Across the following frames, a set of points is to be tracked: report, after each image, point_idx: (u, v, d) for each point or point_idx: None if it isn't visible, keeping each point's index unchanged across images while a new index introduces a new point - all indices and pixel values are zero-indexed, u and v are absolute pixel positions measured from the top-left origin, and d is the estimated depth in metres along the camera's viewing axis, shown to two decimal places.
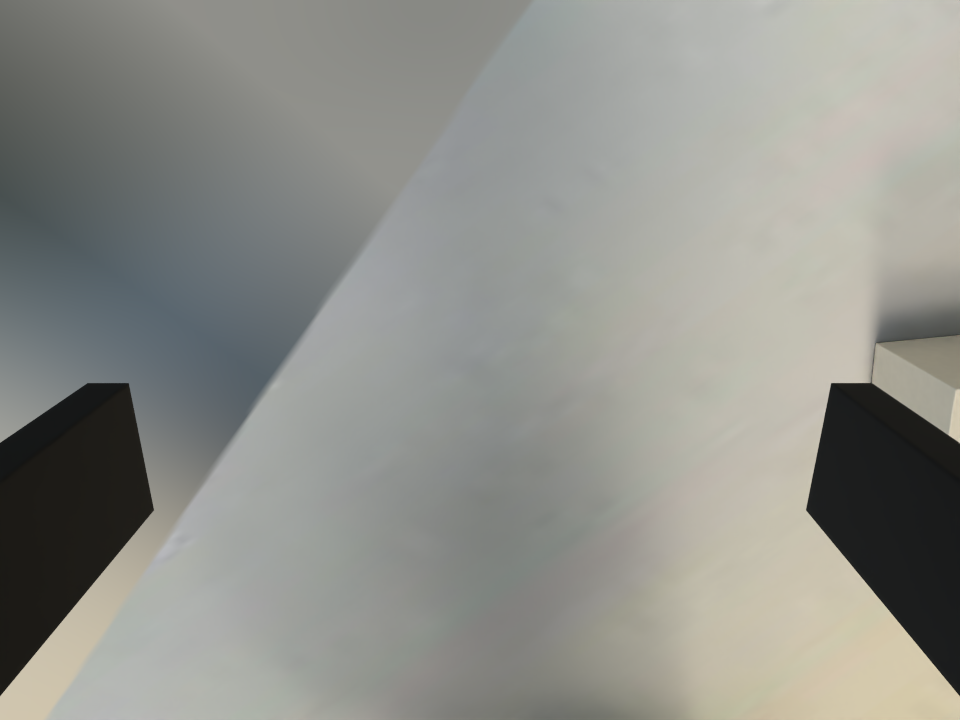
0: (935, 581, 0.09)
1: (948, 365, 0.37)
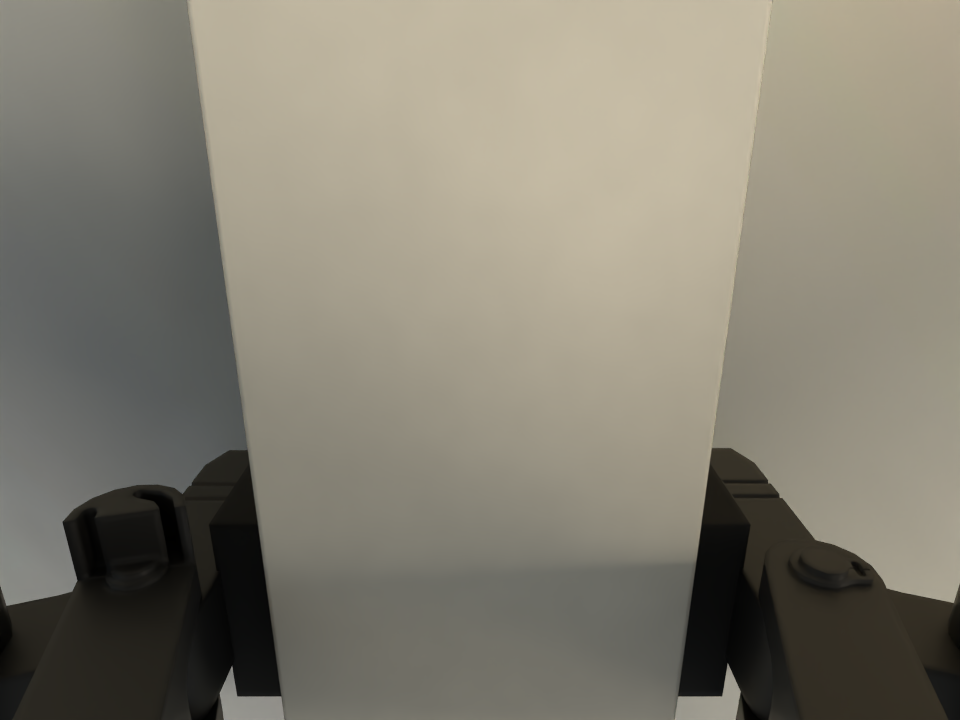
0: None
1: None
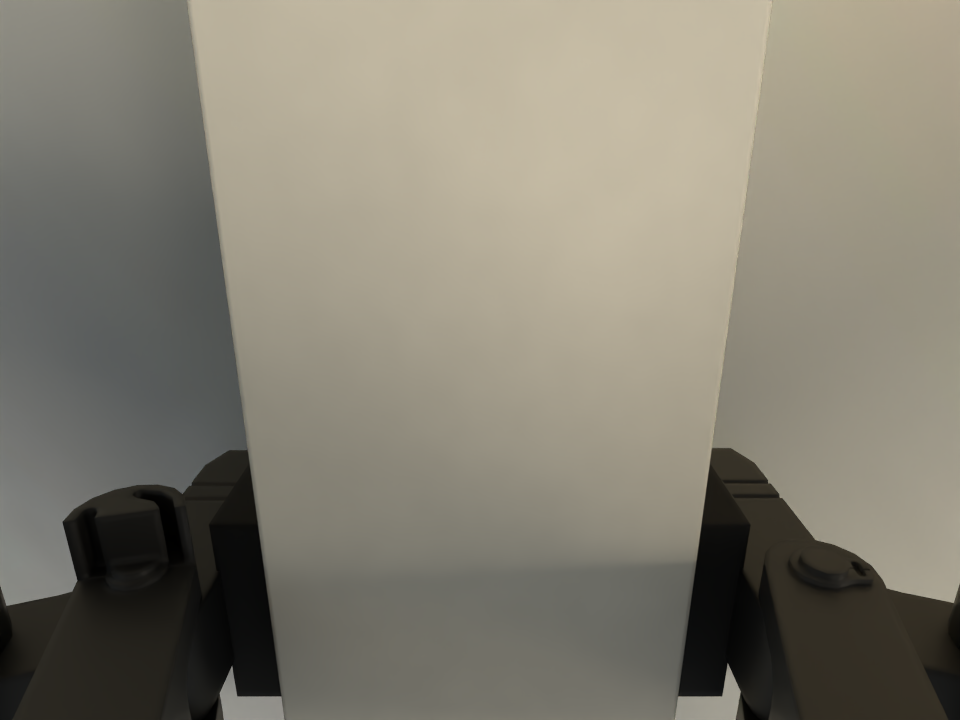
0: None
1: None
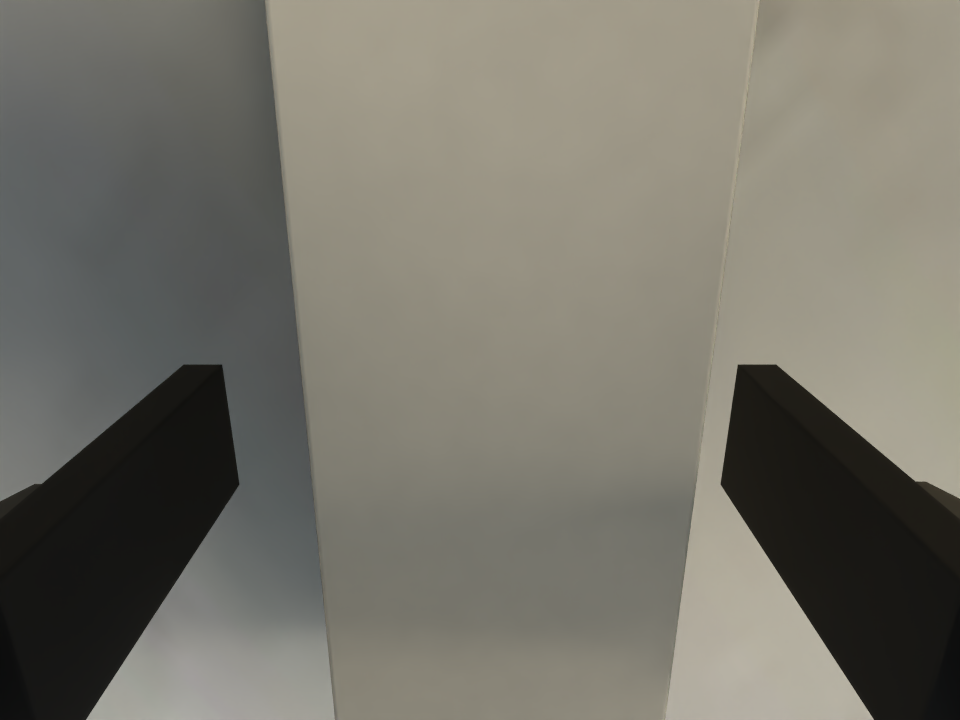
0: (807, 540, 0.10)
1: None
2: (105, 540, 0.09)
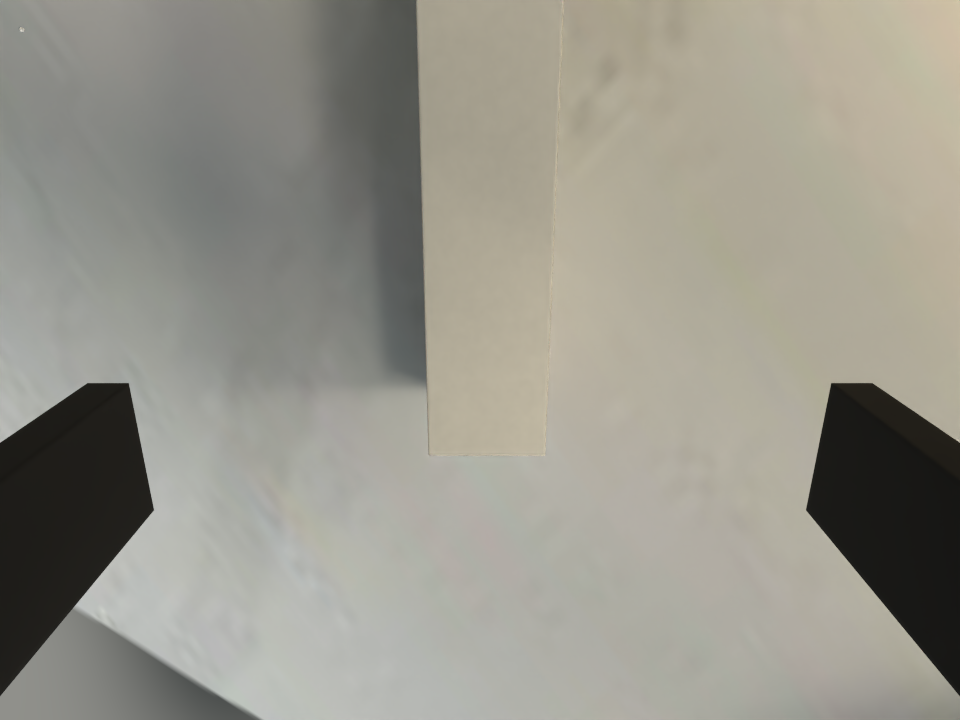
0: (935, 581, 0.09)
1: None
2: None
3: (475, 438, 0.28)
